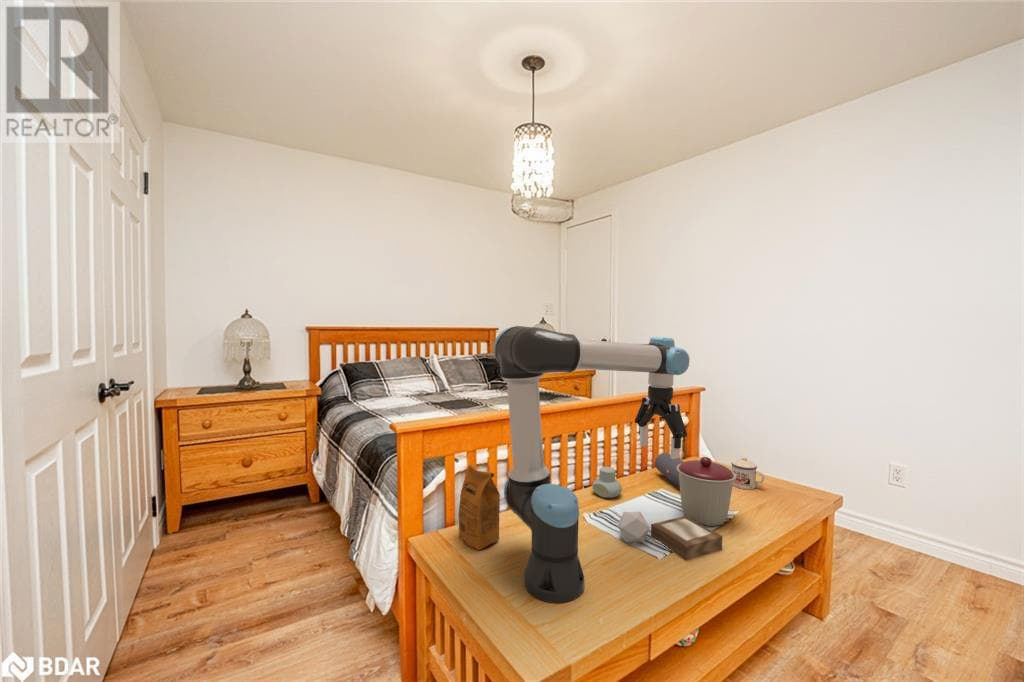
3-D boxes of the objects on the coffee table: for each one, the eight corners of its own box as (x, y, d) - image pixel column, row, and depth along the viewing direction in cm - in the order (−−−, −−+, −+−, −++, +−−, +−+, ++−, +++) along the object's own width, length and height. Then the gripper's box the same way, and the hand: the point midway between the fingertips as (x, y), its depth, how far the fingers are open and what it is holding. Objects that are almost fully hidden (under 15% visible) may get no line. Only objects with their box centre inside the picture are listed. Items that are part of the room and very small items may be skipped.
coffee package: (480, 526, 137) (480, 458, 136) (503, 542, 127) (504, 470, 126) (453, 536, 131) (453, 465, 130) (476, 553, 121) (476, 477, 120)
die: (643, 553, 124) (658, 521, 126) (616, 535, 125) (631, 504, 128) (635, 548, 132) (649, 518, 134) (609, 531, 133) (624, 502, 136)
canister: (732, 513, 148) (735, 453, 147) (735, 537, 132) (738, 470, 131) (676, 503, 156) (678, 446, 155) (673, 524, 139) (675, 461, 138)
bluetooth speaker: (652, 474, 184) (653, 452, 183) (672, 473, 186) (673, 451, 185) (683, 496, 162) (684, 470, 161) (705, 495, 163) (706, 469, 163)
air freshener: (588, 493, 164) (589, 467, 163) (601, 487, 169) (602, 463, 169) (612, 502, 156) (613, 475, 155) (625, 496, 161) (626, 470, 161)
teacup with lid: (727, 485, 173) (728, 457, 172) (735, 479, 179) (736, 452, 179) (760, 494, 164) (761, 464, 164) (767, 488, 171) (768, 459, 170)
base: (686, 560, 119) (687, 545, 119) (650, 536, 131) (651, 523, 131) (721, 549, 125) (722, 535, 124) (684, 527, 137) (684, 514, 137)
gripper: (701, 391, 126) (698, 462, 127) (642, 380, 149) (640, 440, 150) (682, 393, 123) (680, 465, 124) (625, 381, 145) (623, 442, 146)
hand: (658, 451), depth 137 cm, fingers open, 13 cm apart
